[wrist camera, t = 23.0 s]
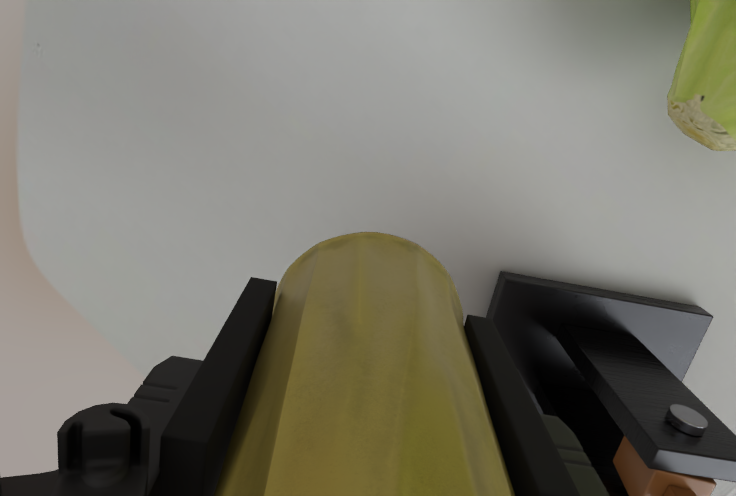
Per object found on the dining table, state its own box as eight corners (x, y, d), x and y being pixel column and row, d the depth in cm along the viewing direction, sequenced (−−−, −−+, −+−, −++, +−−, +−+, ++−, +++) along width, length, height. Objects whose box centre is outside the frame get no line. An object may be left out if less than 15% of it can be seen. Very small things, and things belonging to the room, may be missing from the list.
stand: (459, 401, 30) (506, 567, 20) (500, 270, 27) (578, 388, 17) (641, 430, 31) (774, 604, 21) (700, 306, 28) (888, 439, 18)
